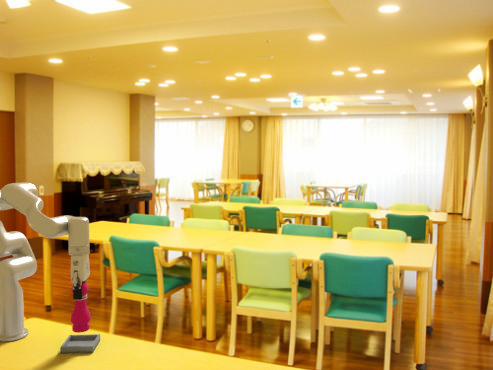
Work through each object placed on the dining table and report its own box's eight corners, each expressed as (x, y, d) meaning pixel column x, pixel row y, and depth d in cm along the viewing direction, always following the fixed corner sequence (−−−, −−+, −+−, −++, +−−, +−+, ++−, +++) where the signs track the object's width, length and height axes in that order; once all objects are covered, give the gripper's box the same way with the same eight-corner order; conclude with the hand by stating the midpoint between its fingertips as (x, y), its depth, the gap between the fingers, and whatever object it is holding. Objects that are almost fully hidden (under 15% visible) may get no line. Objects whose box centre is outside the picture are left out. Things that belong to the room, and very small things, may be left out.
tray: (60, 353, 175) (60, 347, 175) (69, 341, 187) (69, 335, 187) (93, 352, 176) (92, 346, 176) (100, 340, 188) (100, 334, 188)
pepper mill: (82, 325, 186) (81, 274, 185) (95, 328, 182) (93, 277, 181) (66, 330, 180) (65, 279, 178) (79, 334, 176) (78, 281, 175)
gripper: (83, 254, 171) (84, 303, 172) (94, 245, 188) (95, 290, 189) (61, 254, 170) (63, 304, 171) (75, 245, 187) (76, 290, 188)
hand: (80, 296), depth 180 cm, fingers closed on pepper mill, 6 cm apart
